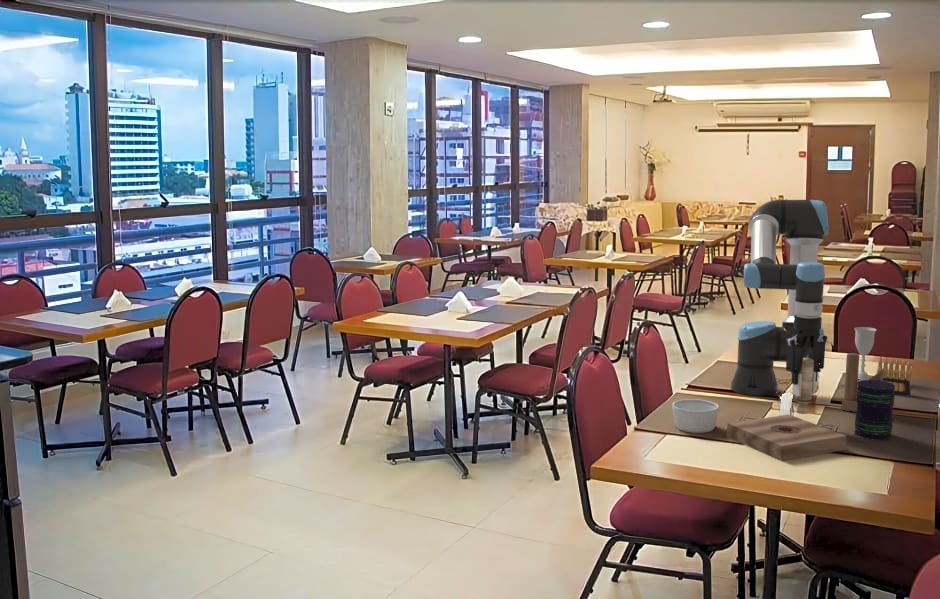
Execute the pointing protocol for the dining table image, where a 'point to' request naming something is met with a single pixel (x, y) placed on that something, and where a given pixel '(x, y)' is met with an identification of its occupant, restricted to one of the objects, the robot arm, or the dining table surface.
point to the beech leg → (805, 386)
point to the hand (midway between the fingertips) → (803, 393)
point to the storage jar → (874, 409)
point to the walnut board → (786, 437)
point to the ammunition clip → (897, 375)
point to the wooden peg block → (854, 382)
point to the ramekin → (695, 415)
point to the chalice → (864, 346)
